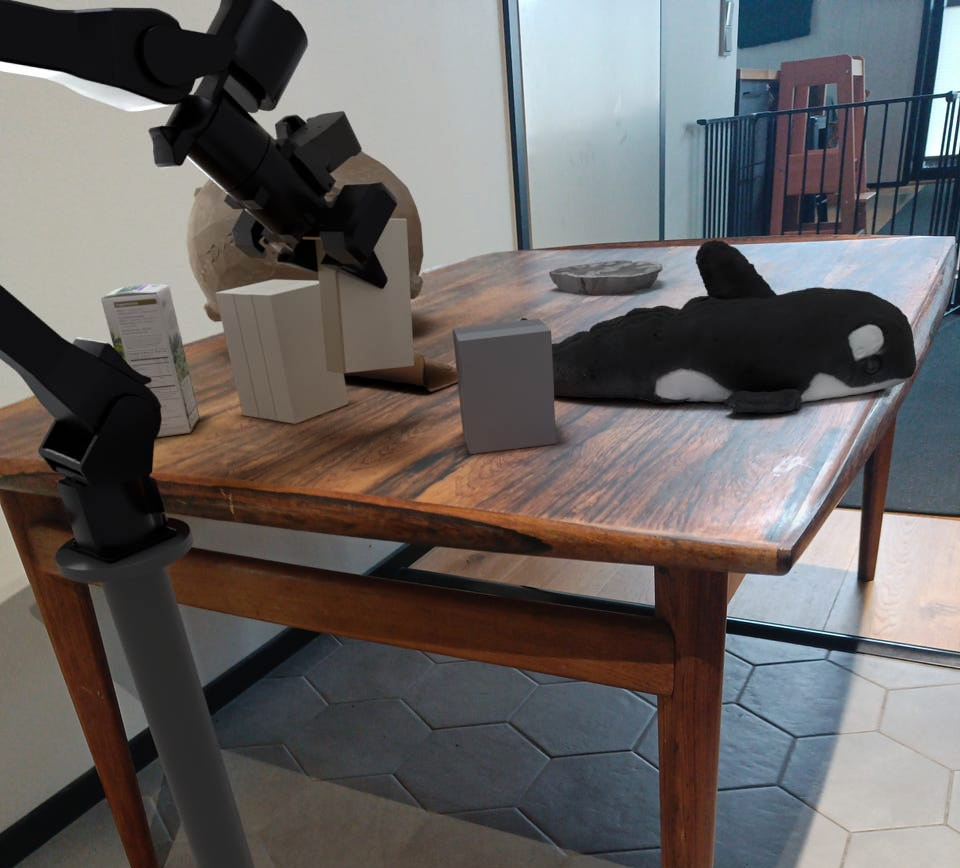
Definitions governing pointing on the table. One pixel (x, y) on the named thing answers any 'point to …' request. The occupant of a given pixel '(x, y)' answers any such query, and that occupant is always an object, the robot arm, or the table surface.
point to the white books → (279, 350)
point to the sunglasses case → (417, 373)
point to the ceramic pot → (231, 268)
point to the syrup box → (154, 350)
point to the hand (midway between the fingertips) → (373, 283)
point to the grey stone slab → (607, 277)
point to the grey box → (505, 385)
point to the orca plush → (741, 345)
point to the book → (369, 310)
